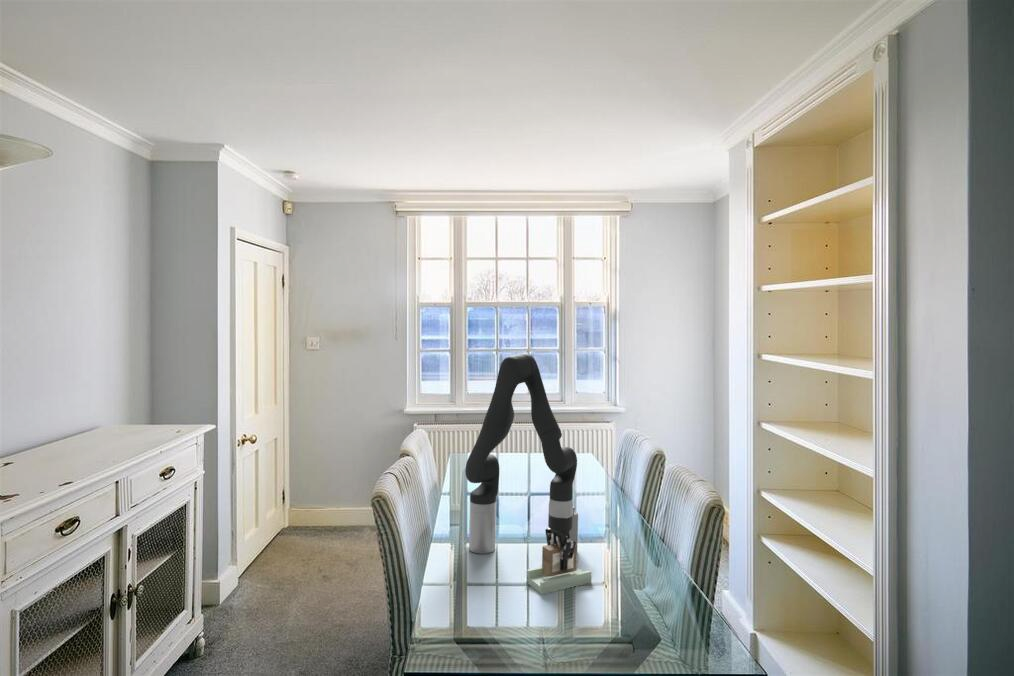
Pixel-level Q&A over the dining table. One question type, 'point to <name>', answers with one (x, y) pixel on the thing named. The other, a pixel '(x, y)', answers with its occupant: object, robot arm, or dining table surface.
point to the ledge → (556, 580)
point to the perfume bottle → (574, 527)
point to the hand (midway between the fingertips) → (559, 567)
